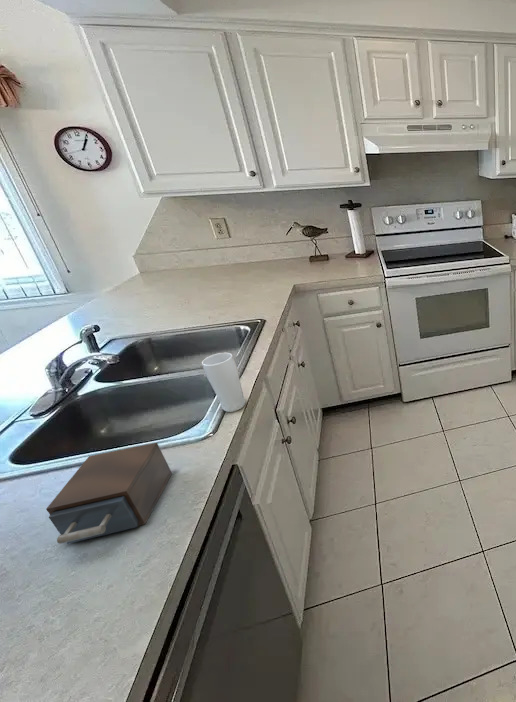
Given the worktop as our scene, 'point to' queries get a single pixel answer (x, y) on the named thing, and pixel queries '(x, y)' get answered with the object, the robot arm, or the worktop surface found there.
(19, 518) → the worktop surface
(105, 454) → the cabinet
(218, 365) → the drinking glass
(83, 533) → the drawer
